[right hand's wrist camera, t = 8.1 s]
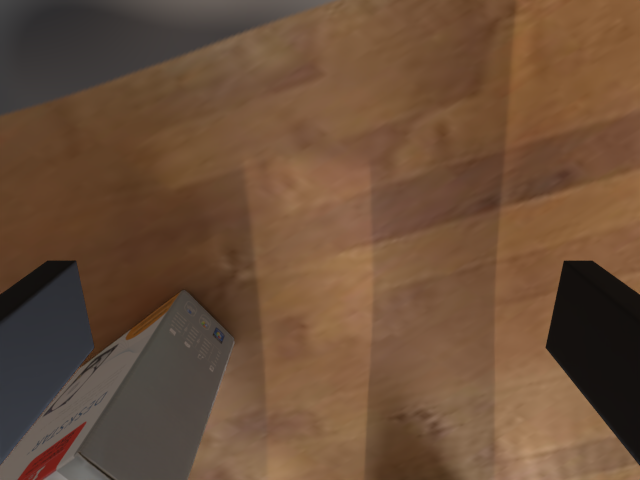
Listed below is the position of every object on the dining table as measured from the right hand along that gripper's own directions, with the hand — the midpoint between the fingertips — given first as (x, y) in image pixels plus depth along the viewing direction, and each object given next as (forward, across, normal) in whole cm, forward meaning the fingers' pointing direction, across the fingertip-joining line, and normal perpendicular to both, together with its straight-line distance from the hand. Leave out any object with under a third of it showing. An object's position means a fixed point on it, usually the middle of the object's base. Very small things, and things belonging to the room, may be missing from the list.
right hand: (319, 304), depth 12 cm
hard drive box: (+28, +17, +21) cm, 39 cm away
